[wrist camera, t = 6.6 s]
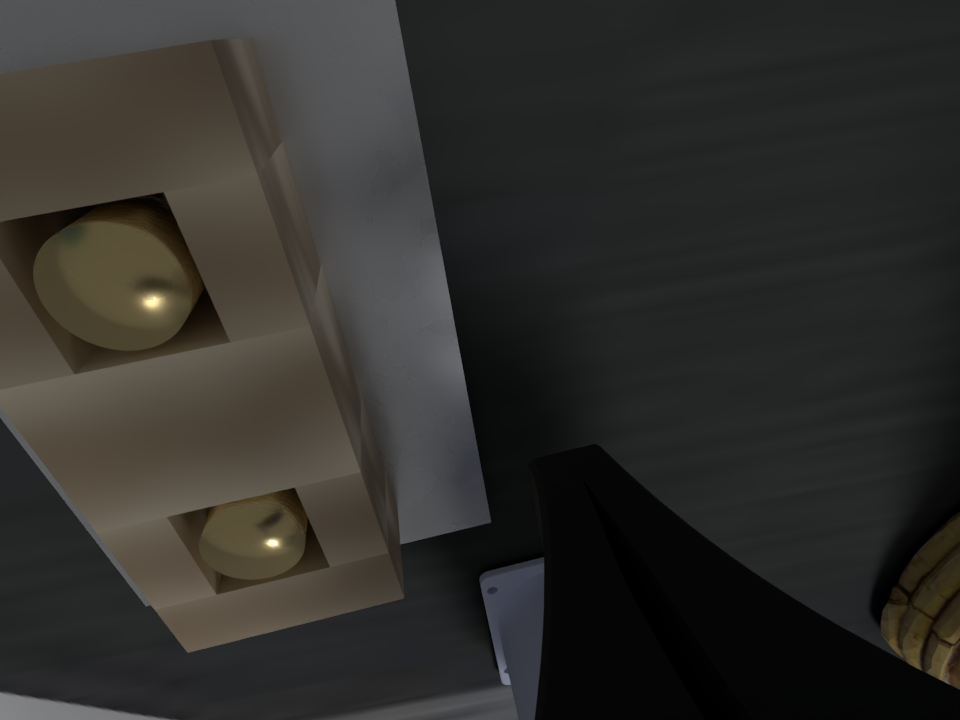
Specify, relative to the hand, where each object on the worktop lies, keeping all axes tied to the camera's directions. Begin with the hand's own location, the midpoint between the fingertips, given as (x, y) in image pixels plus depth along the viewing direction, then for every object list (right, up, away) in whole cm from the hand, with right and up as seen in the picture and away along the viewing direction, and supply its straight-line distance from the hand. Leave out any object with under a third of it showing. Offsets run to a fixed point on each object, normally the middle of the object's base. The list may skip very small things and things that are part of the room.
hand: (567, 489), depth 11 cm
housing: (-10, +3, +7) cm, 12 cm away
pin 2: (-9, -1, +8) cm, 12 cm away
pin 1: (-10, +6, +4) cm, 12 cm away
